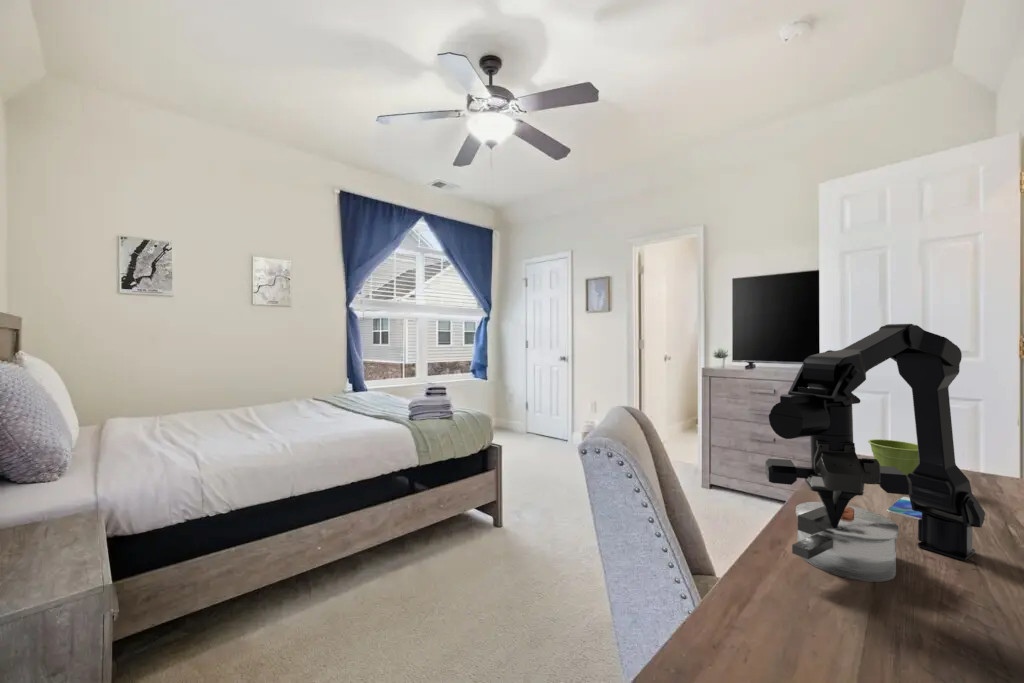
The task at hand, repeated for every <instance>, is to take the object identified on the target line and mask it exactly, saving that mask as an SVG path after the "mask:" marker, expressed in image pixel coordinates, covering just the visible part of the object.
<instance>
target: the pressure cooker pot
mask: <svg viewBox="0 0 1024 683" xmlns="http://www.w3.org/2000/svg"><path fill="white" fill-rule="evenodd" d="M791 547H792V548H791V549H792V550H791V551H792V552H791V554H793V555H796V556H798V557H800V558H802V559H803V560H804V561H805V562H807V563H808V564H810V565H811V566H813V567H815V568H817V569H818V570H821V571H824V572H826V573H829V574H832V575H835V576H839V577H841V578H846V579H850V580H853V581H854V580H855V581H859V582H860V581H862V582H869V583H878V582H879V583H882V582H888V581H891V580H893V579H894V578H896V576H897V554H896V553H897V538H895V539H892V540H888V541H867V540H858V539H852V538H847V537H842V536H838V535H834V534H830V533H827V532H824V531H821V532H818V533H816V534H813V535H811V534H808V533H805V532H802V531H799V530H798V529H797V542H795V543H793V544H791Z"/></svg>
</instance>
